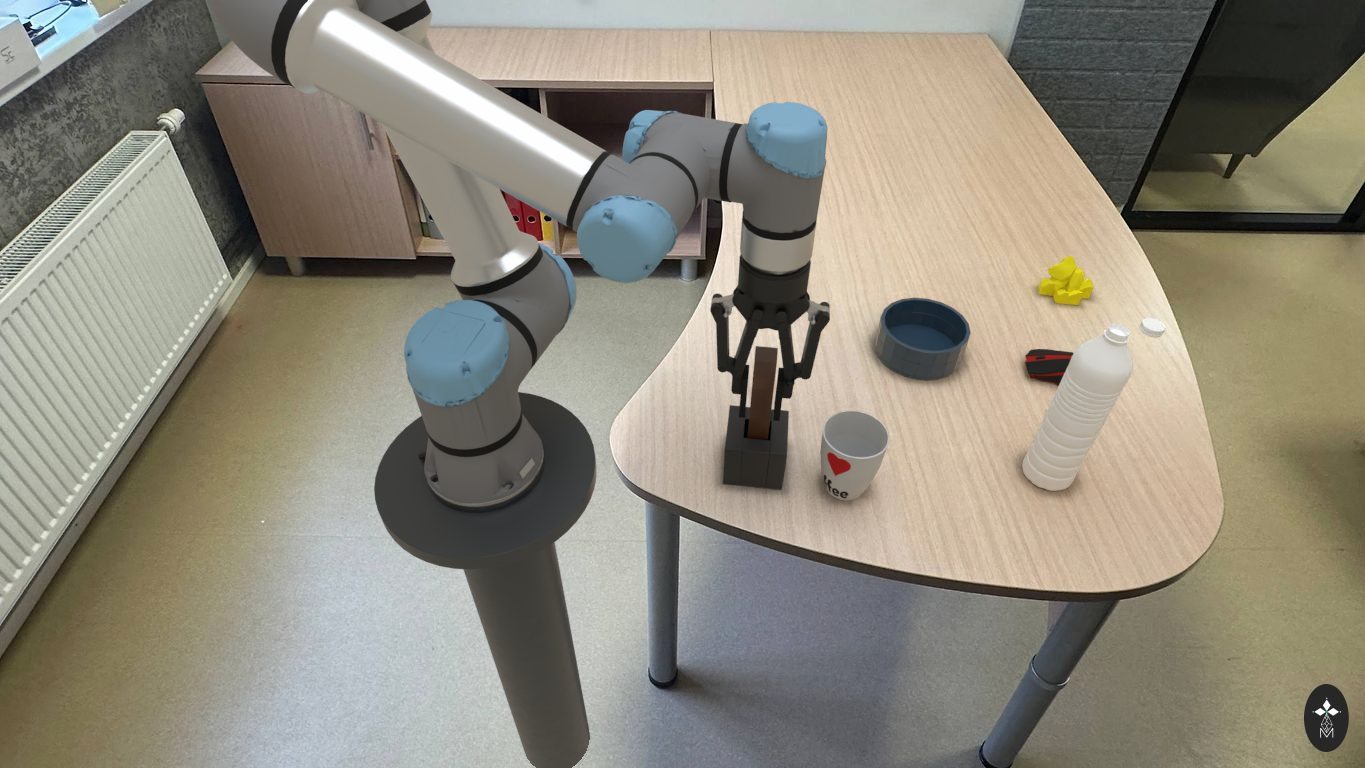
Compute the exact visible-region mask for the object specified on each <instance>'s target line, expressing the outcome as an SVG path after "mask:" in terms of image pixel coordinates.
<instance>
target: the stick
mask: <svg viewBox="0 0 1365 768" xmlns="http://www.w3.org/2000/svg"><path fill="white" fill-rule="evenodd" d="M778 351H779V348H778V347H772V346H759V345H755V350H754V359H753V360H754V361H753V372H752V383H751V391H750V392H751V394H750V405H749V407H750V414H749V425H748V436H747V438H750V439H761V440H768V433H769V425H770V416H771V409H773V408H772V407H773V400H774V399H773V398H774V389H775V383H776V373H777V365H778Z"/></svg>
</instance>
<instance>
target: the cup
mask: <svg viewBox="0 0 1365 768" xmlns="http://www.w3.org/2000/svg"><path fill="white" fill-rule="evenodd" d="M821 432H822V433H821V442H820V454H819V455H820V468H821V469H820V473H821V477H822V480H823V484H824V488H825V490H826V492H827V493H828V494H829V495H830V496H831V497H832V498H835V499H837V500H839V501H840V500H841V501H846V502H847V501H854V500H856V499H858V498H860V497H861V495H862V494H863V493H864V492H865V491H866V490H867V489H868V488H869V486H870V485H871V483H872V482H873V480H874V479H875V477H876V475H877V474H878V471H879V469H880V468H881V466H882V463H883V460H884V458H885V455H886V452H887V450H888V447H889V444H890V437H891V436H890V433H889V431H888V428H887V426H886V425H885V424H884V423H883V422H882V420H880V419H879V418H878V417H876V416H874V415H872V414H870V413H868V412H864V411H861V410H853V409H852V410H851V409H847V410H846V409H845V410H841V411H840V410H839V411H837V412H835V413H833V414H831V415H830V416H829V417H827V418H826V420H825V422H824V424H823V426H822V431H821Z"/></svg>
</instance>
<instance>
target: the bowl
mask: <svg viewBox="0 0 1365 768" xmlns="http://www.w3.org/2000/svg"><path fill="white" fill-rule="evenodd" d="M970 336H971V328H970V324H969V322H968V320H967V319H966V318H965V317H964V315H963V314H962V313H961V312H959V311H958V310H957V309H956V308H955V307H952V306H950V305H948V304H947V303H944V302H941V301H938V300H934V299H931V298H926V297H925V298H924V297H907V298H902V299H898V300H896V301H893V302H891V303H889V304H888V305H887V306H886V307H885V308H883V311H882V312H881V314H880V318H879V323H878V327H877V331H876V335H875V341H874V350H875V354H876V356H877V358H878V360H880V362H881V363H882V364H883V365H884V366H885V367H886V368H887V369H889V370H890V371H892V372H894V373H896V374H897V375H900V376H902V377H905V378H909V379H913V380H917V381H936V380H942V379H945V378H948V377H949V376H951V375H952V374H954V373H955V372H957V370H958V368H960V366H961V363H962V360H963V357H964V354H965V351H966V349H967V345H968V343H969V339H970Z"/></svg>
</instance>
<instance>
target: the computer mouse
mask: <svg viewBox="0 0 1365 768" xmlns="http://www.w3.org/2000/svg"><path fill="white" fill-rule="evenodd" d="M1073 353H1074V351H1066V350H1057V349H1056V350H1055V349H1048V348H1035V349H1030V350H1029V351H1028V352H1027V354H1025V361H1024V364H1025V368H1026V372H1027V374H1028V376H1029V377H1030V379H1033V380H1036V381H1039V382H1044V383H1048V384H1052V385H1056V386H1057V387H1058V386H1059V384H1060V382H1061V380H1062V378H1063V376H1064V373H1065V371H1066V369H1067V367H1068V365H1069V362H1070V360H1071V358H1072V355H1073Z"/></svg>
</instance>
